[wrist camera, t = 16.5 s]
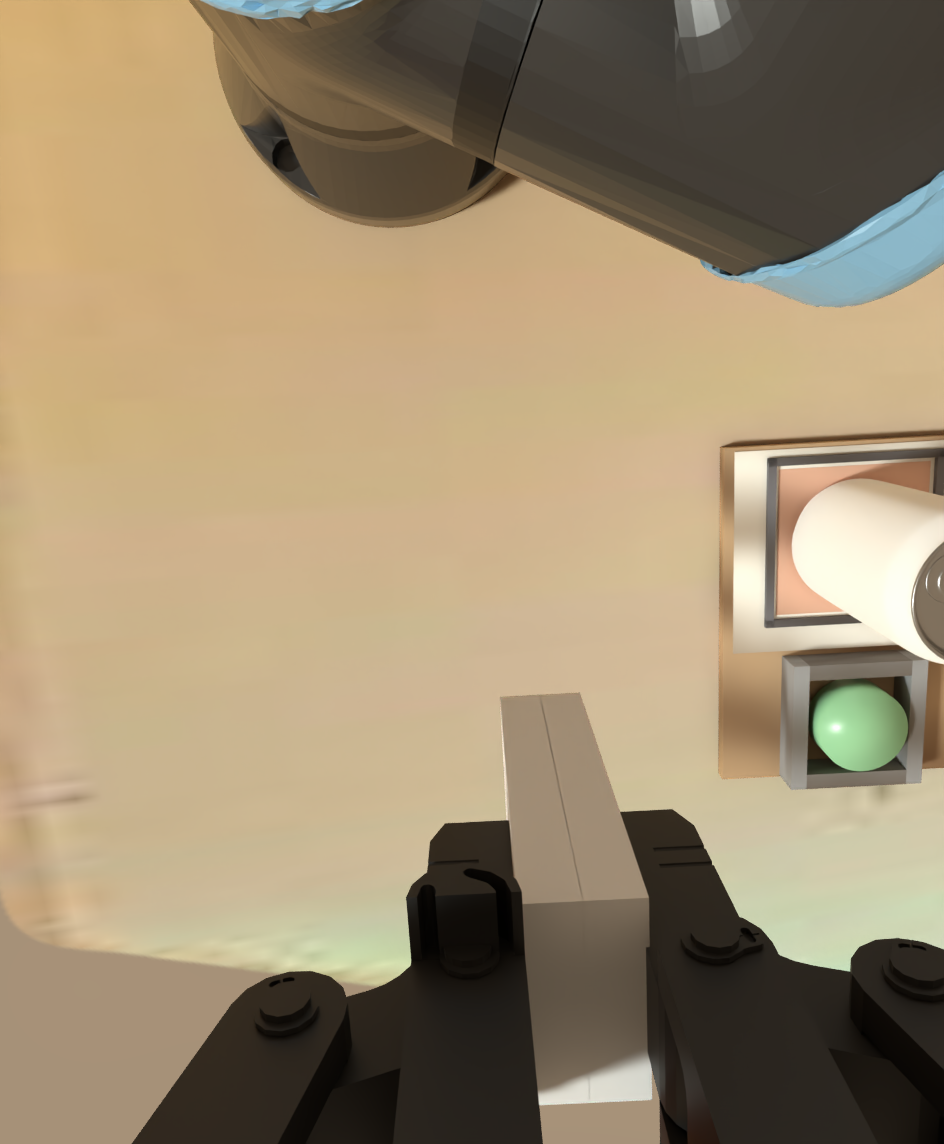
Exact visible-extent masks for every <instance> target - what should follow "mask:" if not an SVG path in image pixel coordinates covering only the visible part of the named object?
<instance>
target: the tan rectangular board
mask: <svg viewBox="0 0 944 1144" xmlns="http://www.w3.org/2000/svg"><path fill="white" fill-rule="evenodd" d="M859 478H863V479H873V480H879V481H883V482H888V483H892V484H896V485H900V486H904V487H908V488H912V489H916V490H920V491H924V492H928V493H932V494H936V495H940V496H944V434H943V435H926V436H908V437H891V438H873V439H856V440H838V441H821V442H803V443H786V444H768V445H751V446H733V447H720V581H719V769H718V773H719V774H720V776H721V778H722V779H735V778H755V777H774V776H781V777H782V779H783V780H784V781H785V782H786V784H787V785H788V786H789V788H790V789H791V790H797V789H816V788H836V787H855V786H875V785H894V784H913V783H921V777H922V769H928V768H944V664H940V663H936V662H932V661H929V660H926V659H924V658H921V657H919V656H917V655H915V654H913V653H911V652H909V651H908V650H906V649H904V648H903V647H901V646H899V645H898V644H896V643H894V642H893V641H891V640H889V639H888V638H886V637H885V636H883V635H881V634H880V633H878V632H877V631H875V630H873V629H872V628H870V627H869V626H867V625H865V624H864V623H862V622H861V621H859V620H857V619H856V618H854V617H853V616H851V615H849V614H848V613H846V612H845V611H843V610H841V609H840V608H838V607H837V606H835V605H834V604H832V603H830V602H829V601H827V600H826V599H824V598H823V597H821V596H820V595H818V594H817V593H816V592H814V591H813V590H812V589H811V588H809V587H808V586H807V585H806V583H805V582H804V581H803V580H802V578H801V577H800V575H799V573H798V572H797V569H796V567H795V564H794V561H793V556H792V537H793V533H794V529H795V526H796V523H797V521H798V519H799V516H800V514H801V513H802V511H803V509H804V508H805V506H806V505H807V504H808V502H809V501H810V500H811V499H812V498H813V497H814V496H816V495H817V494H818V493H820V492H821V491H823V490H824V489H826V488H827V487H829V486H831V485H833V484H836V483H838V482H841V481H845V480H850V479H859ZM857 678H863V679H866V680H868V681H871V682H872V683H874V684H876V685H877V686H878V687H879V688H881V689H882V690H883V691H885V692H886V693H887V694H889V695H890V696H891V697H893V698H894V699H895V700H896V701H897V702H898V703H899V704H900V705H901V706H902V708H903V709H904V711H905V713H906V716H907V721H908V734H907V738H906V741H905V743H904V745H903V747H902V749H901V750H900V752H899V753H898V754H897V755H896V756H895V757H894V758H893V759H892V760H891V761H890V762H888V763H887V764H885V765H883V766H881V767H879V768H876V769H873V770H869V771H852V770H848V769H845V768H843V767H841V766H839V765H837V764H836V763H835V762H833V761H832V760H831V759H830V758H829V757H828V756H827V754H826V753H825V752H824V751H823V750H822V749H821V748H820V747H819V746H818V745H817V744H816V743H815V742H814V740H813V739H812V738H811V736H810V734H809V731H808V719H809V705H810V703H811V701H812V699H813V698H814V696H815V695H816V694H817V693H818V691H819V690H821V689H822V688H823V687H824V686H826V685H827V684H829V683H831V682H833V681H835V680H838V679H857Z"/></svg>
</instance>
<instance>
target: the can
mask: <svg viewBox="0 0 944 1144" xmlns="http://www.w3.org/2000/svg"><path fill="white" fill-rule="evenodd" d="M792 556H793V561H794V564H795V567H796V569H797V572H798V573H799V575H800V577H801V578H802V580H803V581H804V582H805V583H806V585H807V586H808V587H809V588H811V589H812V590H813V591H814V592H816V593H817V594H818V595H820V596H821V597H823V598H824V599H826V600H827V601H829V602H830V603H832V604H834V605H835V606H837V607H838V608H840V609H841V610H843V611H845V612H846V613H848V614H849V615H851V616H853V617H854V618H856V619H857V620H859V621H861V622H862V623H864V624H865V625H867V626H869V627H870V628H872V629H873V630H875V631H877V632H878V633H880V634H881V635H883V636H885V637H886V638H888V639H889V640H891V641H893V642H894V643H896V644H898V645H899V646H901V647H903V648H904V649H906V650H908V651H909V652H911V653H913V654H915V655H917V656H919V657H921V658H924V659H926V660H929V661H932V662H936V663H940V664H944V496H940V495H936V494H932V493H928V492H924V491H920V490H916V489H912V488H908V487H904V486H900V485H896V484H892V483H888V482H883V481H879V480H873V479H863V478H859V479H850V480H845V481H841V482H838V483H836V484H833V485H831V486H829V487H827V488H826V489H824V490H823V491H821V492H820V493H818V494H817V495H816V496H814V497H813V498H812V499H811V500H810V501H809V502H808V504H807V505H806V506H805V508H804V509H803V511H802V513H801V514H800V516H799V519H798V521H797V523H796V526H795V529H794V533H793V537H792Z"/></svg>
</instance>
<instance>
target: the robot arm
mask: <svg viewBox="0 0 944 1144" xmlns="http://www.w3.org/2000/svg"><path fill="white" fill-rule="evenodd" d="M189 1H190V3H191V4H192V5H193V6H194V8H195V9H196V10H197V12H198V13H199V14H200V16H201V17H202V18H203V19H204V21H205V22H206V23H207V25H208V26H209V27H210V29H211V30H212V31H213V40H214V50H215V57H216V63H217V68H218V73H219V77H220V80H221V84H222V87H223V90H224V93H225V96H226V99H227V102H228V104H229V107H230V109H231V111H232V113H233V116H234V118H235V120H236V122H237V124H238V126H239V128H240V129H241V131H242V133H243V134H244V136H245V138H246V139H247V141H248V142H249V144H250V145H251V147H252V148H253V150H254V151H255V152H256V154H257V155H258V156H259V157H260V158H261V160H262V161H263V162H264V163H265V164H266V165H267V166H268V167H269V168H270V170H271V171H272V172H273V173H274V174H275V175H276V176H277V177H278V178H279V179H280V180H281V181H282V182H283V183H284V184H285V185H286V186H287V187H289V188H290V189H291V190H292V191H293V192H295V193H296V194H297V195H298V196H300V197H301V198H302V199H304V200H305V201H307V202H308V203H310V204H311V205H313V206H315V207H317V208H318V209H320V210H322V211H324V212H326V213H328V214H330V215H333V216H335V217H338V218H340V219H343V220H346V221H350V222H353V223H357V224H362V225H367V226H374V227H387V228H394V227H409V226H416V225H421V224H426V223H430V222H433V221H437V220H440V219H442V218H445V217H448V216H450V215H452V214H454V213H457V212H459V211H460V210H462V209H464V208H466V207H468V206H469V205H471V204H472V203H474V202H475V201H477V200H478V199H480V198H481V197H482V196H484V195H485V194H486V193H488V192H489V191H490V190H491V189H492V188H493V187H494V186H495V185H497V184H498V182H499V181H500V180H501V179H502V178H503V177H504V176H505V175H506V174H507V173H510V174H513V175H515V176H517V177H519V178H521V179H524V180H526V181H528V182H530V183H532V184H535V185H537V186H539V187H541V188H543V189H546V190H548V191H550V192H552V193H554V194H557V195H559V196H561V197H563V198H566V199H568V200H570V201H572V202H574V203H577V204H579V205H581V206H583V207H585V208H588V209H590V210H592V211H594V212H596V213H599V214H601V215H603V216H605V217H607V218H610V219H612V220H614V221H616V222H618V223H621V224H623V225H625V226H627V227H629V228H632V229H634V230H636V231H638V232H641V233H643V234H645V235H647V236H649V237H652V238H654V239H656V240H658V241H660V242H663V243H665V244H667V245H669V246H671V247H674V248H676V249H678V250H680V251H682V252H685V253H687V254H689V255H691V256H693V257H696V258H698V259H700V261H701V264H702V265H703V267H704V268H705V269H707V270H708V271H709V272H711V273H712V274H714V275H716V276H718V277H720V278H722V279H725V280H728V281H731V280H734V281H737V282H740V283H753V284H755V285H758V286H760V287H763V288H765V289H768V290H770V291H773V292H775V293H778V294H780V295H783V296H785V297H788V298H790V299H793V300H795V301H798V302H801V303H804V304H807V305H811V306H816V307H818V306H825V307H845V306H856V305H861V304H864V303H867V302H871V301H874V300H877V299H880V298H883V297H885V296H888V295H890V294H892V293H895V292H897V291H899V290H901V289H903V288H905V287H907V286H909V285H911V284H912V283H914V282H916V281H918V280H919V279H921V278H923V277H924V276H926V275H928V274H929V273H931V272H933V271H934V270H935V269H937V268H938V267H940V266H941V265H943V264H944V0H189ZM500 707H501V725H502V744H503V763H504V781H505V800H506V818H507V820H505V821H485V822H466V823H447V824H444V826H443V827H442V828H441V829H440V830H439V832H438V833H437V834H436V835H435V836H434V838H433V839H432V840H431V841H430V849H429V859H428V870H427V873H426V874H424V875H423V876H422V877H421V878H420V879H418V880H417V881H416V882H415V883H413V884H412V886H411V888H410V890H409V893H408V895H407V897H406V901H407V913H408V925H409V937H410V949H411V966H410V967H409V968H408V969H406V970H405V971H404V972H403V973H402V974H401V975H400V976H398V977H397V978H395V979H393V980H392V981H390V982H388V983H387V984H385V985H382V986H379V987H377V988H374V989H372V990H369V991H366V992H362V993H359V994H355V995H352V996H348V997H346V995H345V992H344V989H343V987H342V986H341V985H340V984H339V983H337V982H336V981H335V980H334V979H333V978H331V977H330V976H326V975H323V974H319V973H316V972H312V971H301V972H287V973H283V974H280V975H276V976H272V977H269V978H266V979H264V980H263V981H261V982H259V983H257V984H255V985H254V986H252V987H250V988H248V989H247V990H245V991H244V992H243V993H242V994H241V995H240V996H239V997H238V999H236V1000H235V1001H234V1002H233V1003H232V1004H231V1006H230V1007H229V1009H228V1010H227V1012H226V1013H225V1014H224V1016H223V1017H222V1018H221V1020H220V1021H219V1023H218V1024H217V1025H216V1027H215V1028H214V1030H213V1031H212V1033H211V1034H210V1035H209V1037H208V1038H207V1040H206V1041H205V1042H204V1044H203V1045H202V1046H201V1048H200V1049H199V1051H198V1052H197V1053H196V1055H195V1056H194V1058H193V1059H192V1060H191V1062H190V1063H189V1065H188V1066H187V1067H186V1069H185V1070H184V1071H183V1073H182V1074H181V1076H180V1077H179V1079H178V1080H177V1081H176V1083H175V1084H174V1086H173V1087H172V1088H171V1090H170V1091H169V1092H168V1094H167V1095H166V1097H165V1098H164V1099H163V1101H162V1102H161V1104H160V1105H159V1107H158V1108H157V1109H156V1111H155V1112H154V1113H153V1115H152V1116H151V1118H150V1119H149V1120H148V1122H147V1123H146V1125H145V1126H144V1127H143V1129H142V1130H141V1132H140V1133H139V1134H138V1136H137V1137H136V1139H135V1140H134V1141H133V1143H132V1144H543V1143H542V1142H543V1141H542V1131H541V1121H540V1109H539V1105H552V1104H574V1103H596V1102H616V1101H638V1100H652V1071H653V1075H654V1079H655V1083H656V1087H657V1091H658V1094H659V1098H660V1144H944V950H943V949H941V948H938V947H935V946H932V945H930V944H927V943H924V942H919V941H914V940H908V939H900V938H894V939H881V940H874V941H872V942H870V943H867V944H865V945H863V946H860V947H859V948H858V949H857V951H856V952H855V954H854V955H853V956H852V958H851V968H850V972H848V971H842V970H836V969H830V968H824V967H818V966H813V965H808V964H804V963H800V962H796V961H793V960H790V959H788V958H785V957H782V956H780V955H779V954H778V952H777V950H776V948H775V946H774V945H773V943H772V941H771V940H770V939H769V938H768V937H767V935H766V934H765V933H764V932H763V931H762V930H761V929H760V928H759V927H757V926H755V925H754V924H752V923H750V922H749V921H747V920H745V919H744V918H740V917H739V916H738V914H737V912H736V910H735V907H734V905H733V903H732V901H731V899H730V897H729V895H728V893H727V891H726V889H725V887H724V885H723V883H722V881H721V879H720V877H719V875H718V873H717V871H716V869H715V867H714V865H712V861H711V859H710V857H709V855H708V853H707V851H706V849H704V845H703V843H702V841H701V839H700V837H699V834H698V832H697V830H696V828H695V826H694V825H693V824H691V823H690V822H689V821H687V820H686V819H685V818H683V817H682V816H681V815H679V814H678V813H677V812H675V811H674V810H673V809H669V810H650V811H631V812H620V810H619V808H618V805H617V802H616V799H615V796H614V793H613V790H612V787H611V784H610V781H609V778H608V775H607V772H606V769H605V766H604V763H603V760H602V757H601V754H600V751H599V748H598V745H597V742H596V739H595V736H594V733H593V731H592V728H591V725H590V722H589V719H588V716H587V713H586V710H585V707H584V704H583V701H582V698H581V695H580V693H565V694H546V695H527V696H509V697H500ZM651 1067H652V1070H651Z"/></svg>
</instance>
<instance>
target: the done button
mask: <svg viewBox="0 0 944 1144" xmlns="http://www.w3.org/2000/svg"><path fill="white" fill-rule="evenodd" d="M808 731H809V734H810V736H811V738H812V739H813V740H814V742H815V743H816V744H817V745H818V746H819V747H820V748H821V749H822V750H823V751H824V752H825V753H826V754H827V756H828V757H829V758H830V759H831V760H832V761H833V762H835V763H836V764H837V765H839V766H841V767H843V768H845V769H848V770H852V771H869V770H873V769H876V768H879V767H881V766H883V765H885V764H887V763H888V762H890V761H891V760H892V759H893V758H894V757H895V756H896V755H897V754H898V753H899V752H900V750H901V749H902V747H903V745H904V743H905V741H906V738H907V734H908V721H907V716H906V713H905V711H904V709H903V708H902V706H901V705H900V704H899V703H898V702H897V701H896V700H895V699H894V698H893V697H891V696H890V695H889V694H887V693H886V692H885V691H883V690H882V689H881V688H879V687H878V686H877V685H876V684H874V683H872V682H871V681H868V680H866V679H863V678H857V679H838V680H835V681H833V682H831V683H829V684H827V685H826V686H824V687H823V688H822V689H821V690H819V691H818V693H817V694H816V695H815V696H814V698H813V699H812V701H811V703H810V705H809V719H808Z"/></svg>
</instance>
